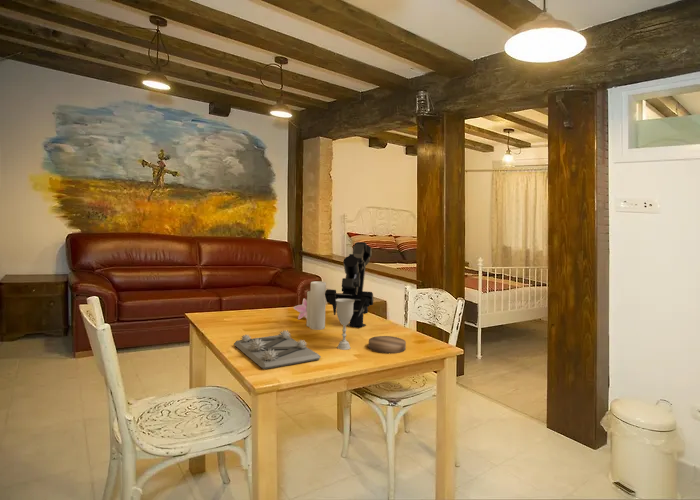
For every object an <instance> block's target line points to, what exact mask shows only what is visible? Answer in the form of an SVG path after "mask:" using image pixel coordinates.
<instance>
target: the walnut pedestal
mask: <svg viewBox="0 0 700 500" xmlns="http://www.w3.org/2000/svg"><path fill="white" fill-rule="evenodd" d="M406 344H407V342H406V340H405V339H403V338H400V337H397V336H391V335H379V336H378V335H377V336H374V337H371V338H369V339H368V349H369V350H371V351H372V352H375V353H378V354H379V353H381V354H389V353H390V354H400V353H402V352H403V353H404V351H406V348H407V345H406Z"/></svg>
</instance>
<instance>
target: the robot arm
mask: <svg viewBox="0 0 700 500" xmlns="http://www.w3.org/2000/svg"><path fill="white" fill-rule="evenodd" d="M354 243H355V244H354V245H353V247H352V253H350V254H349V255H348V256H346V257H344V259H343V268H344V273H345V277H344V278H342V279H341V293H340V292H337V290H336V289H327V288H326V291H325V297H326V302H327V303H329V305H331V306H332V311H333V315H334V316H335V315H337V302H336V299H353V300H355V301H354V303H353V315H352V318H351V320H350V322H349V324H347V325H346V327H351V328H356V329H361V328H362V327H363V328H364V327H366V326H367V324H366V323H364V315H366V314H368V313H369V307H370V306H373V305H374V293H373V292H372V291H364V286H365V285H364V283H365V276H366V275H365V274H366V266H367V265H368V264H369V263H370V259H371V258H372V253H373V252H372V247H371V246H369V245H368V244H367V242H365V241H364V242H363V241H356V242H354Z"/></svg>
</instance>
